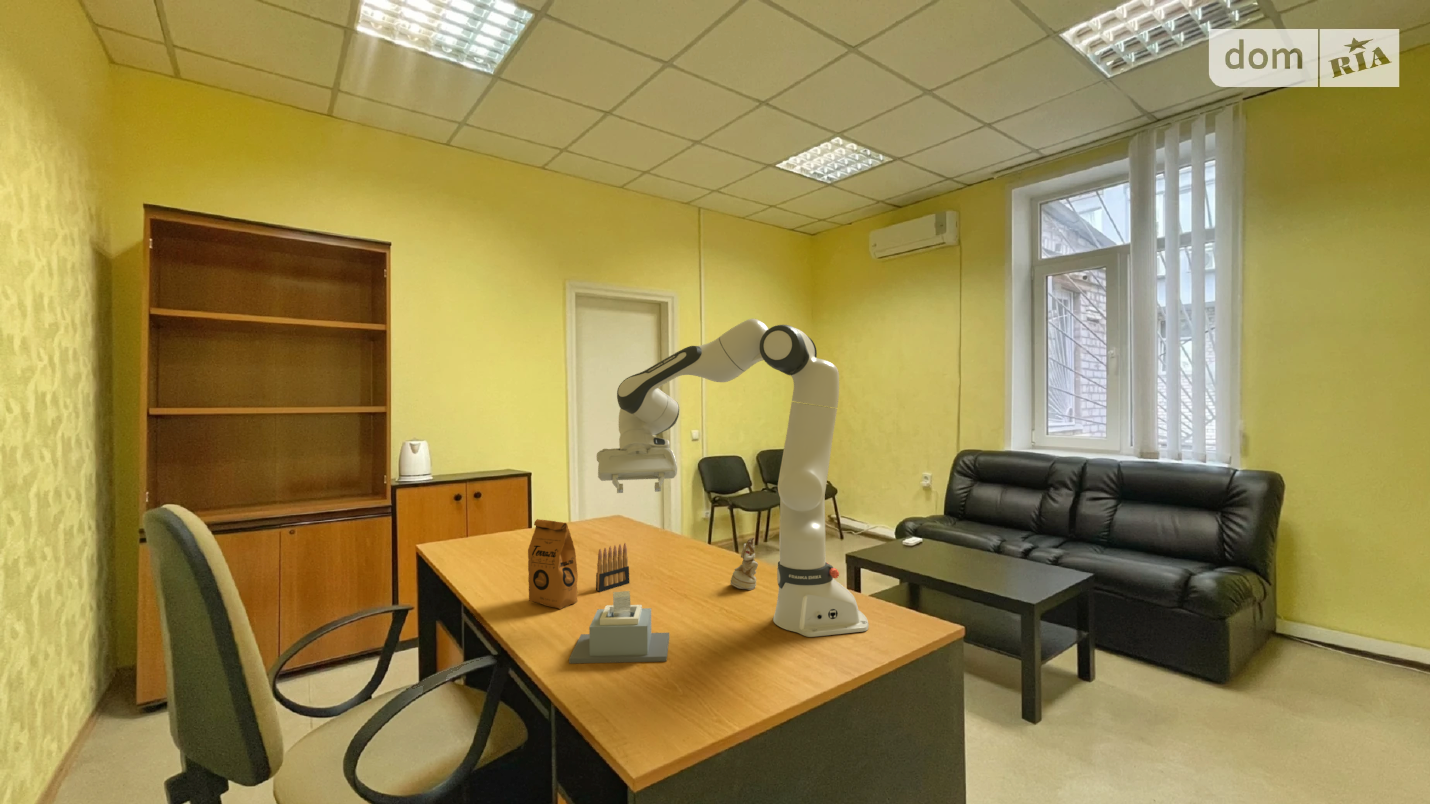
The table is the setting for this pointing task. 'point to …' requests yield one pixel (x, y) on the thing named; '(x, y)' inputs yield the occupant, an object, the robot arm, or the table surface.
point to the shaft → (621, 604)
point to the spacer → (620, 620)
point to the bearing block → (621, 642)
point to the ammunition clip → (612, 569)
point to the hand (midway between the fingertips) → (639, 490)
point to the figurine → (746, 568)
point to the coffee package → (552, 565)
